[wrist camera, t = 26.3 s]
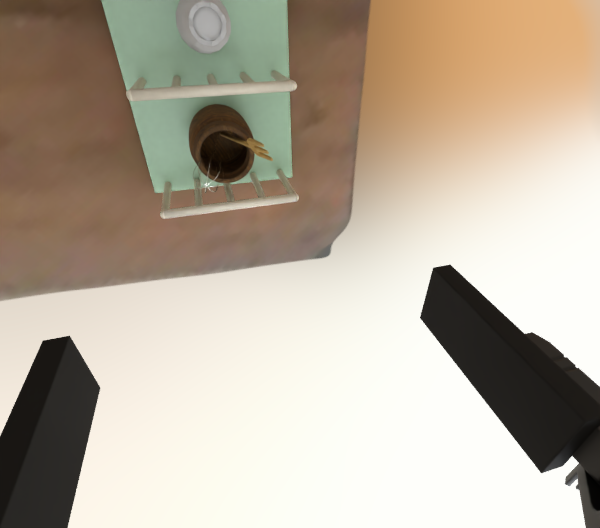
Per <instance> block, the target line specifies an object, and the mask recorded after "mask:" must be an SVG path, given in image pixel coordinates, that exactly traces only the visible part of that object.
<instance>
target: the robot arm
mask: <svg viewBox="0 0 600 528" xmlns="http://www.w3.org/2000/svg"><path fill="white" fill-rule="evenodd" d="M420 318H421V320H422V321H423V322H424V323H425V325H426V326H427V327H428V328H429V330H430V331H431V332H432V333H433V335H434V336H435V337H436V339H437V340H438V341H439V343H440V344H441V345H442V346H443V348H444V349H445V350H446V352H447V353H448V354H449V355H450V357H451V358H452V359H453V361H454V362H455V363H456V364H457V366H458V367H459V368H460V369H461V370H462V372H463V373H464V375H465V376H466V377H467V378H468V380H469V381H470V382H471V384H472V385H473V386H474V387H475V388H476V390H477V391H478V392H479V394H480V395H481V396H482V398H483V399H484V400H485V401H486V403H487V404H488V405H489V406H490V408H491V409H492V410H493V412H494V413H495V414H496V415H497V417H498V418H499V419H500V421H501V422H502V423H503V424H504V426H505V427H506V428H507V430H508V431H509V432H510V433H511V435H512V436H513V437H514V439H515V440H516V441H517V442H518V444H519V445H520V446H521V448H522V449H523V450H524V451H525V452H526V454H527V455H528V456H529V458H530V459H531V460H532V461H533V463H534V464H535V465H536V467H537V468H538V469H539V471H540V472H541V473H543V472H546V471H549V470H552V469H555V468H558V467H561V466H563V465H564V464H565V463H566V462H567V461H568V460H569V458H570V457H571V456H573V457H574V458H575V459H576V460H577V461H578V462H579V464H578V465H577V466H576V467H575V468H574V469H573V470H572V471H571V473H570V474H569V475H568V476H567V477H566V482H565V484H566V485H568V486H570V485H571V484H572V483H573V482H574V481H575V480H576V479H577V478H578V485H577V486H576V489H579V490H580V495H581V501H582V507H583V513H584V518H585V525H586V528H600V387H599V386H598V385H597V384H596V383H594V381H592V380H591V379H590V378H589V377H588V376H587V375H586V374H585V373H583V372H582V371H581V370H580V369H579V368H576V367H575V365H574V364H573V363H572V362H571V361H570V360H569V359H568V358H565V357H564V355H563V354H562V353H561V352H560V351H559V350H558V349H556V348H555V347H554V346H553V345H552V344H551V343H550V342H548V341H546V340H545V339H543V338H541V337H539V336H538V335H536V334H534V333H528V334H524V333H523V332H522V331H521V330H520V329H518V327H516V326H515V325H514V324H513V323H512V322H511V321H510V320H509V319H508V318H507V317H506V316H504V314H502V313H501V312H500V311H499V310H498V309H497V308H496V307H495V306H494V305H493V304H492V303H491V302H490V301H489V300H487V299H486V298H485V297H484V296H483V295H482V294H481V293H480V292H479V291H478V290H477V289H476V288H475V287H474V286H472V285H471V284H470V283H469V282H468V281H467V280H466V279H465V278H464V277H463V276H462V275H461V274H460V273H459V272H457V271H456V270H455V269H454V268H453V267H452V266H451V265H446V266H441V267H436V268H433V271H432V275H431V279H430V283H429V286H428V290H427V294H426V298H425V301H424V305H423V309H422V313H421V317H420ZM99 390H100V387H99V385H98V383H97V381H96V380H95V378H94V376H93V375H92V373H91V371H90V370H89V368H88V366H87V365H86V363H85V361H84V359H83V358H82V356H81V354H80V353H79V351H78V349H77V348H76V346H75V344H74V343H73V341H72V339H71V338H70V336H66V337H61V338H56V339H50V340H45V341H43V342H42V344H41V346H40V349H39V351H38V353H37V355H36V358H35V360H34V362H33V364H32V366H31V369H30V371H29V373H28V375H27V378H26V380H25V382H24V384H23V387H22V389H21V391H20V393H19V396H18V398H17V400H16V402H15V405H14V407H13V409H12V411H11V414H10V416H9V418H8V420H7V422H6V425H5V427H4V429H3V431H2V434H1V436H0V528H67V527H68V522H69V518H70V514H71V510H72V506H73V501H74V497H75V493H76V488H77V484H78V480H79V476H80V472H81V467H82V462H83V459H84V455H85V450H86V446H87V442H88V437H89V433H90V429H91V425H92V420H93V416H94V412H95V407H96V403H97V399H98V394H99Z"/></svg>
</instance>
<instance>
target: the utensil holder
mask: <svg viewBox="0 0 600 528" xmlns="http://www.w3.org/2000/svg"><path fill="white" fill-rule="evenodd" d="M259 146H260V147H259ZM261 147H264V144H263V143H261V142H259V141H256V140H254V138H253V135H252V132H251V130H250V128H249V126H248V124H247V123H246V121H245V120H244V118H243V117H242V116H241V115H240V114H239V113H238V112H237V111H236V110H234V109H233V108H231V107H229V106H226V105H221V104H213V105H208V106H206V107H204V108H202V109H201V110H199V111H198V112H197V113H196V114H195V116H194V117H193V119H192V121H191V124H190V127H189V148H190V152H191V155H192V157H193V159H194V161H195V163H196V164H197V166H198V172H199V169H200V170H201V172H202V173H203V174H204V175H205V176H206V177H207V179H208V181H209V179H211V180H213V181H215V182H219V183H221V184H222V183H233V182H236V181H238V180H240V179H242V178H243V177H245V176H246V175H247V174H248V172H249V171H250V169H251V168H252V165H253V162H254V156H255V154H256V155H257V156H259V157H262V158H265V159H267V160H270V161H273V158H272V157H270V156H268V155H266V154H269V152H268V151H267V150H265V149H263V148H261ZM264 153H265V154H264ZM197 166H196V167H197ZM196 167H195V168H196ZM194 170H195V169H194ZM200 174H201V173H199V176H200ZM193 175H194V172H193ZM200 177H201V176H200ZM198 178H199V177H198ZM193 179H194V178H193ZM201 179H202V178H201ZM194 180H195V179H194ZM197 181H198V179H197ZM197 181H196V182H197ZM202 181H203V180H202ZM213 181H212V182H213ZM197 183H198V182H197ZM197 183H196V188H197ZM203 183H204V182H203ZM210 183H211V182H210ZM210 183H209V184H210ZM199 184H200V183H199ZM204 184H205V183H204ZM209 184H208V183H207V181H206V184H205V185H204V187H205V186H208V185H209ZM221 184H220V185H221ZM201 185H203V184H201ZM218 186H219V185H218V184H217V187H218ZM209 187H216V186H209ZM202 188H203V187H202ZM207 188H208V187H207ZM207 188H205V193H206V190H207ZM197 189H201V188H197ZM208 189H209V188H208ZM209 190H210V189H209ZM211 191H212V190H211ZM216 191H217V189H216ZM216 191H212V192H216Z"/></svg>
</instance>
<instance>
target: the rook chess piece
mask: <svg viewBox="0 0 600 528" xmlns="http://www.w3.org/2000/svg"><path fill="white" fill-rule="evenodd" d="M176 26H177V28H178V31H179V33H180V35H181V38H182V39H183V40H184V41H185V43H186V44H187V45H188V46H189V47H190V48H192V49H194V50H195V51H197V52H199V53H206V54H211V53H214V52H216V51H219V50H220V49H221V48H222V47H223V46H224V45H225V44H226V43H227V42H228V39H229V36H230V33H231V21H230V18H229V15H228V12H227V10H226V8H225V6H224V5H223V4H222V2H221V1H220V0H180V1H179V3H178V7H177V10H176Z"/></svg>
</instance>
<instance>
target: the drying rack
mask: <svg viewBox="0 0 600 528" xmlns="http://www.w3.org/2000/svg"><path fill="white" fill-rule="evenodd" d="M101 1H102V5H103V9H104V12H105V16H106V19H107V23H108V26H109V30H110V34H111V37H112V41H113V44H114V48H115V51H116V55H117V59H118V62H119V66H120V69H121V73H122V76H123V80H124V84H125V87H126V91H127V92H126V96H127V98H128V99H129V101H130V105H131V109H132V112H133V116H134V119H135V123H136V126H137V130H138V133H139V137H140V141H141V144H142V148H143V151H144V155H145V158H146V162H147V166H148V169H149V173H150V176H151V180H152V183H153V187H154V191H155V193H161V192H163V200H162V207H161V212H160V216H161V217H162V218H164V219H167V218H175V217H183V216H190V215H198V214H205V213H213V212H221V211H228V210H236V209H244V208H251V207H259V206H267V205H274V204H282V203H289V202H296V201H298V199H299V196H298V195H297V194H296V192H295V190H294V189H293V187H292V186H291V184H290V183H289V181H288V179H287V178H291V177H292V150H291V116H290V91H294V90H295V89H296V87H297V84H296V82H295V81H294V80H291V79H289V49H288V15H287V0H220V1H221V2H222V4H223V5H224V6H225V8H226V10H227V12H228V15H229V18H230V21H231V33H230V36H229V39H228V42H227V43H226V44H225V45H224V46H223V47H222V48H221V49H220V50H219V51H216V52H214V53H211V54H206V53H199V52H197V51H195V50H194V49H192V48H190V47H189V46H188V45H187V44H186V43H185V41H184V40H183V39H182V38H181V35H180V33H179V31H178V28H177V26H176V10H177V7H178V3H179V1H180V0H101ZM213 104H221V105H226V106H229V107H231V108H233V109H234V110H236V111H237V112H238V113H239V114H240V115H241V116H242V117H243V118H244V120H245V121H246V123H247V124H248V126H249V128H250V130H251V132H252V135H253V138H254V140H256V141H259V142H261V143H263V144H264V147H261V148H263V149H265V150H267V151H268V152H269V154H266V155H268V156H270V157H272V158H273V161H270V160H267V159H265V158H262V157H259V156H257V155H256V154H255V156H254V162H253V165H252V168H251V169H250V171H249V172H248V174H247V175H246V176H245V177H243V178H242V179H240V180H238V181H236V182H233V183H222V184H221V183H219V182H215V181H213V180H211V179H209V181H208V179H207V177H206V176H205V175H204V174H203V173H202V172H201V170H200V169H199V172H198V166H197V164H196V163H195V161H194V159H193V157H192V155H191V152H190V148H189V127H190V124H191V121H192V119H193V117H194V116H195V114H196V113H197V112H198V111H199V110H201V109H202V108H204V107H206V106H208V105H213ZM259 147H260V146H259ZM264 154H265V153H264ZM196 166H197V167H196ZM195 167H196V168H195ZM194 169H195V170H194ZM193 172H194V175H193ZM199 173H201V174H200V176H201V177H200V176H199ZM198 177H199V178H198ZM193 178H194V179H195V180H194V179H193ZM201 178H202V179H201ZM197 179H198V181H197ZM273 179H280V180H281V182H282V184H283V186H284V187H285V189H286V191H287V192H288V194H285V195H277V196H269V197H266V196H265V194H264V191H263V189H262V187H261V185H260V182H259V181H265V180H273ZM202 180H203V181H202ZM196 181H197V182H198V183H197V182H196ZM206 181H207V183H208V184H209V183H210V182H211V183H210V184H209V185H208V186H205V187H209V186H217V184H218V185H219V186H222V185H224V188H225V193H226V197H227V202H222V203H214V204H206V205H203V202H202V191H201V189H197V188H202V187H203V188H204V185H205V184H206ZM212 181H213V182H212ZM203 182H204V183H205V184H204V183H203ZM248 182H252V183H253V185H254V188H255V190H256V193H257V195H258V198H253V199H246V200H238V201H235V199H234V196H233V192H232V188H231V184H239V183H248ZM196 183H197V188H196ZM199 183H200V184H199ZM201 184H203V185H201ZM220 184H221V185H220ZM187 189H194V195H195V206H190V207H182V208H174V209H170V198H171V191H179V190H187Z"/></svg>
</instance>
